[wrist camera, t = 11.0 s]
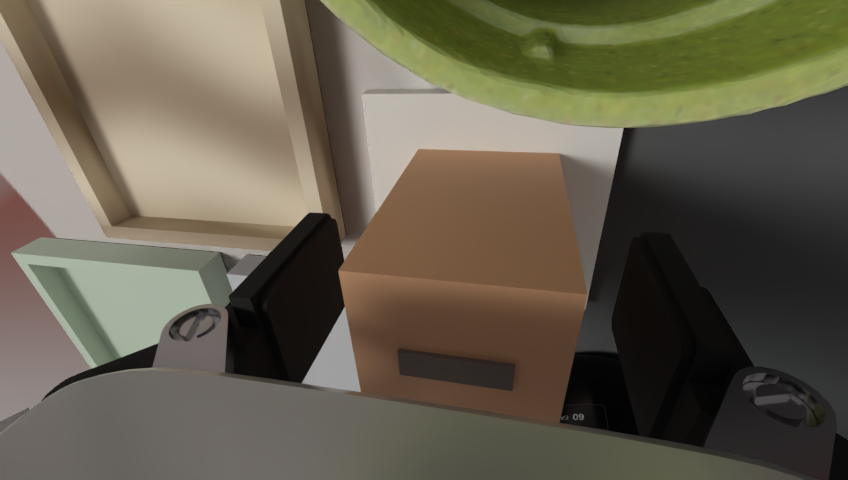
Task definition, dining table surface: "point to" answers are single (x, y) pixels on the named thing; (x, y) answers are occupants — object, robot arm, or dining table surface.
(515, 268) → the letter block
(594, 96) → the plant pot
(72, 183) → the dining table surface
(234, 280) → the tray grey
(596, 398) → the supplement bottle
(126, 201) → the tray birch
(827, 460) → the robot arm
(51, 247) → the tray green
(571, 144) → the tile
